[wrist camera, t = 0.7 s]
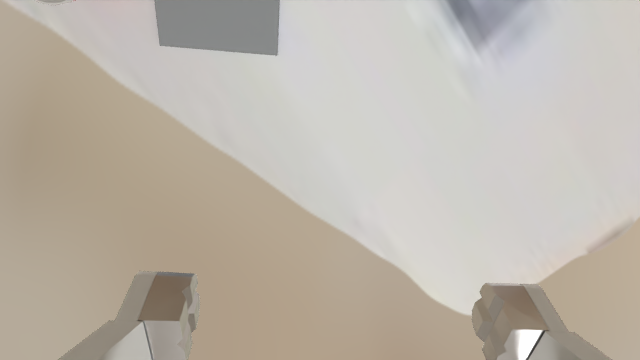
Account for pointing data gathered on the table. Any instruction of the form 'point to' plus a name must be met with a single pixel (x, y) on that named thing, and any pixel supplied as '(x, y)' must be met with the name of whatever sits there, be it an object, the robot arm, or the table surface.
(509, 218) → the table surface
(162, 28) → the mat
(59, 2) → the canned food
